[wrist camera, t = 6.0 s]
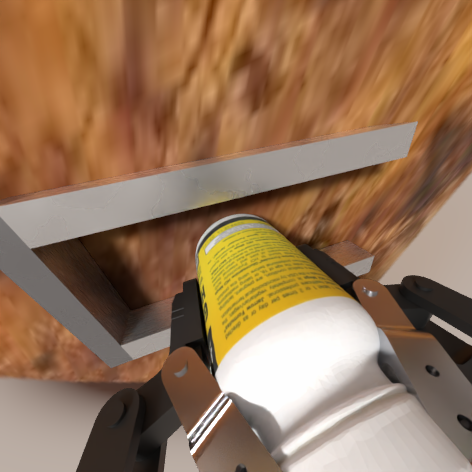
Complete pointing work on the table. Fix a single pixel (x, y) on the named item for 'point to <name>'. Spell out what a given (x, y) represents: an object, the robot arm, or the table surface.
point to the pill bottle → (306, 360)
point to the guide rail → (153, 206)
